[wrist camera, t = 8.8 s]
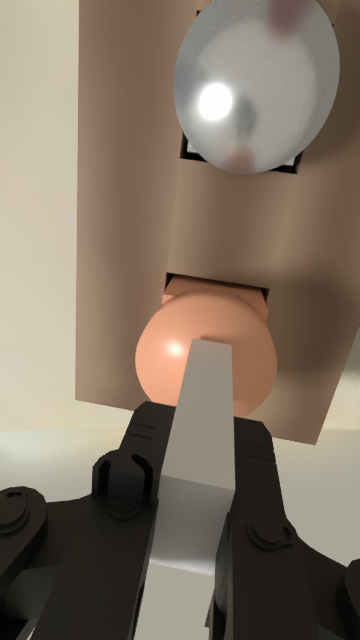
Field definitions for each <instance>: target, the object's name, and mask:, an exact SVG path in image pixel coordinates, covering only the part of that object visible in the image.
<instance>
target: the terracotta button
mask: <svg viewBox="0 0 360 640" xmlns="http://www.w3.org/2000/svg"><path fill="white" fill-rule="evenodd" d="M267 314H268V310H267V307H266V304H265V301H264V297H263V294H262V291H261V288H260V287H257V286H250V285H244V284H238V283H231V282H225V281H219V280H213V279H206V278H200V277H194V276H188V275H181V274H174V276H173V278H172V279H171V281H170V283H169V285H168V286H167V288H166V290H165V292H164V293H163V298H162V305H161V306H160V307H159V308H158V309H157V310H156V311H155V313H154V314H153V316H152V317H151V319H150V321H149V322H148V324H147V326H146V328H145V330H144V331H143V333H142V335H141V337H140V339H139V342H138V345H137V349H136V355H135V365H136V372H137V375H138V379H139V381H140V384H141V386H142V388H143V390H144V391H145V393H146V394H147V396H148V397H149V398H150V399H151V401H152V402H155V403H160V404H166V405H171V406H177V402H178V398H179V393H180V389H181V385H182V380H183V376H184V372H185V367H186V363H187V359H188V354H189V350H190V346H191V341H192V338H195V339H201V340H207V341H213V342H218V343H224V344H230V345H232V378H233V416H235V417H240V418H244V417H245V416H247V415H249V414H250V413H252V412H253V411H254V410H256V409H257V408H258V407H259V406H260V405H261V404H262V403H263V402H264V401H265V400H266V398H267V397H268V395H269V394H270V392H271V390H272V388H273V385H274V383H275V379H276V374H277V357H276V352H275V349H274V345H273V342H272V338H271V335H270V331H269V329H268V326H267V324H266V318H267Z"/></svg>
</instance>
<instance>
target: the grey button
mask: <svg viewBox="0 0 360 640" xmlns="http://www.w3.org/2000/svg"><path fill="white" fill-rule="evenodd" d="M339 72H340V59H339V50H338V43H337V39H336V36H335V32H334V29H333V27H332V25H331V22H330V20H329V18H328V17H327V15H326V13H325V12H324V10H323V9H322V7H321V6H320V5H319V4H318V3H317V1H316V0H212V1H211V2H210V3H209V4H207V5H206V6H205V8H204V9H203V10H202V11H201V12H200V13H199V14H198V16H197V17H196V18H195V20H194V21H193V23H192V24H191V26H190V28H189V29H188V31H187V33H186V35H185V37H184V39H183V42H182V44H181V47H180V49H179V53H178V56H177V60H176V65H175V71H174V82H173V92H174V103H175V109H176V113H177V116H178V120H179V123H180V125H181V128H182V130H183V132H184V134H185V136H186V137H187V139H188V148H187V152H188V153H190V154H191V155H192V156H193V157H194V158H196V159H197V160H198V161H205V162H209V163H210V164H211V165H213V166H215V167H217V168H219V169H221V170H223V171H226V172H229V173H234V174H244V175H247V174H256V173H261V172H265V171H268V170H271V171H275V170H279V169H282V168H286V167H290V166H293V163H294V159H295V156H297V155H298V154H299V153H300V152H301V151H303V150H304V149H305V148H306V147H307V146H308V145H309V144H310V143H311V141H312V140H313V139H314V138H315V137H316V135H317V134H318V132H319V131H320V130H321V128H322V126H323V125H324V123H325V121H326V119H327V117H328V115H329V113H330V111H331V108H332V106H333V103H334V99H335V96H336V92H337V87H338V82H339Z"/></svg>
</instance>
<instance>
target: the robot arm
mask: <svg viewBox="0 0 360 640" xmlns="http://www.w3.org/2000/svg"><path fill="white" fill-rule="evenodd" d="M273 450H274V448H273V442H272V436H271V434H270V432H269V431H268V429H267V428H266V427H265V425H264V424H263V422H261V421H256V420H251V419H246V418H240V417H235V416H233V378H232V345H230V344H224V343H218V342H213V341H207V340H201V339H195V338H192V341H191V346H190V350H189V354H188V359H187V363H186V367H185V372H184V376H183V380H182V385H181V389H180V393H179V398H178V402H177V406H171V405H166V404H160V403H155V402H150V401H145V402H144V403H143V404H141V405H140V406H139V407H138V408H137V409H135V411H134V413H133V416H132V418H131V420H130V424H129V425H128V428H127V430H126V433H125V435H124V438H123V440H122V442H121V445H120V447H119V449H117V450H113V451H110V452H108V453H106V454H105V455H103V456H102V457H100V458H99V459H98V461H97V462H96V463H95V464H94V466H93V471H92V473H93V474H92V493H91V494H89V495H87V496H85V497H82V498H80V499H74V500H70V501H59V502H48V503H46V501H45V499H44V496H43V495H42V494H40V493H39V492H38V491H37V490H35V489H32V488H28V487H24V486H21V487H10V488H7V489H4V490H2V491H0V640H27V638H28V637H29V635H30V633H31V632H32V631H33V629H34V627H35V626H36V627H35V629H34V631H33V634H32V636H31V638H30V640H134V636H135V632H136V626H137V622H138V617H139V612H140V607H141V602H142V597H143V592H144V586H145V579H146V573H147V569H148V564H149V562H152V563H157V564H160V565H165V566H170V567H174V568H179V569H183V570H187V571H192V572H196V573H201V574H205V575H209V576H213V572H214V569H215V588H214V592H213V596H212V599H211V603H210V607H209V610H208V614H207V618H206V623H205V627H209V640H360V559H357V560H353V561H352V562H351V563H350V564H349V566H348V567H345V566H343V565H341V564H340V563H338V562H336V561H334V560H332V559H330V558H328V557H326V556H325V555H322V554H321V553H319V552H317V551H316V550H314V549H313V548H311V547H309V546H308V545H307V544H306V543H305V542H304V541H302V540H301V539H300V538H299V537H298V535H297V533H296V530H295V528H294V527H293V526H292V524H291V523H290V522H289V520H288V519H287V518H286V514H285V511H284V505H283V499H282V494H281V488H280V482H279V476H278V472H277V465H276V459H275V454H274V452H273Z"/></svg>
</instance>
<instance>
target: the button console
mask: <svg viewBox="0 0 360 640" xmlns="http://www.w3.org/2000/svg"><path fill="white" fill-rule="evenodd" d="M211 1H212V0H79V84H78V184H77V284H76V383H75V400H79V401H85V402H90V403H95V404H100V405H106V406H111V407H116V408H122V409H127V410H132V411H135V409H137V408H138V407H139V406H140V405H141V404H143V403H144V402H145V401H150V402H152V401H151V399H150V398H149V397H148V396H147V394H146V393H145V391H144V390H143V388H142V386H141V384H140V381H139V379H138V375H137V372H136V365H135V355H136V349H137V345H138V342H139V339H140V337H141V335H142V333H143V331H144V330H145V328H146V326H147V324H148V322H149V321H150V319H151V317H152V316H153V314H154V313H155V311H156V310H157V309H158V308H159V307H160V306H161V305H162V298H163V293H164V292H165V290H166V288H167V286H168V285H169V283H170V281H171V279H172V278H173V276H174V274H181V275H188V276H194V277H200V278H206V279H213V280H219V281H225V282H231V283H238V284H244V285H250V286H257V287H260V288H261V291H262V294H263V297H264V301H265V304H266V307H267V310H268V314H267V318H266V324H267V326H268V329H269V331H270V335H271V338H272V342H273V345H274V349H275V352H276V357H277V374H276V379H275V383H274V385H273V388H272V390H271V392H270V394H269V395H268V397H267V398H266V400H265V401H264V402H263V403H262V404H261V405H260V406H259V407H258V408H257V409H256V410H254V411H253V412H252V413H250V414H249V415H247V416H245V417H244V418H246V419H251V420H256V421H261V422H263V424H264V425H265V427H266V428H267V429H268V431H269V432H270V434H271V436H272V437H274V438H280V439H285V440H290V441H295V442H301V443H306V444H312V445H316V442H317V439H318V436H319V434H320V431H321V429H322V426H323V423H324V420H325V418H326V415H327V412H328V409H329V407H330V404H331V401H332V399H333V396H334V393H335V390H336V388H337V385H338V382H339V379H340V377H341V374H342V371H343V369H344V366H345V363H346V360H347V358H348V355H349V352H350V349H351V347H352V344H353V341H354V339H355V336H356V333H357V330H358V328H359V325H360V0H316V1H317V3H318V4H319V5H320V6H321V7H322V9H323V10H324V12H325V13H326V15H327V17H328V18H329V20H330V22H331V25H332V27H333V29H334V32H335V36H336V39H337V43H338V50H339V59H340V72H339V82H338V87H337V92H336V96H335V99H334V103H333V106H332V108H331V111H330V113H329V115H328V117H327V119H326V121H325V123H324V125H323V126H322V128H321V130H320V131H319V132H318V134H317V135H316V137H315V138H314V139H313V140H312V141H311V143H310V144H309V145H308V146H307V147H306V148H305V149H304V150H303V151H301V152H300V153H299V154H298V155H297V156H295V159H294V163H293V166H290V167H286V168H282V169H279V170H275V171H271V170H268V171H265V172H261V173H256V174H247V175H244V174H234V173H229V172H226V171H223V170H221V169H219V168H217V167H215V166H213V165H211V164H210V163H209V162H205V161H198V160H197V159H196V158H194V157H193V156H192V155H191V154H190V153H188V152H187V148H188V139H187V137H186V136H185V134H184V132H183V130H182V128H181V125H180V123H179V120H178V116H177V113H176V109H175V103H174V92H173V82H174V71H175V65H176V60H177V56H178V53H179V49H180V47H181V44H182V42H183V39H184V37H185V35H186V33H187V31H188V29H189V28H190V26H191V24H192V23H193V21H194V20H195V18H196V17H197V16H198V14H199V13H200V12H201V11H202V10H203V9H204V8H205V6H206V5H207V4H209V3H210V2H211Z"/></svg>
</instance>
